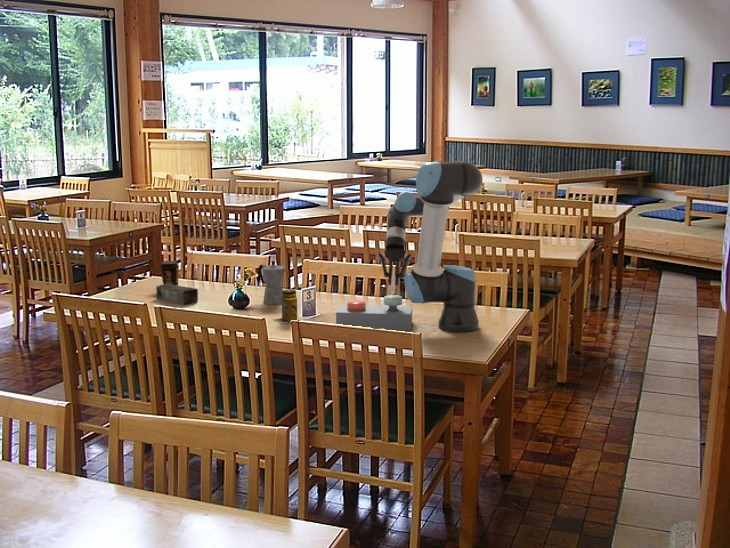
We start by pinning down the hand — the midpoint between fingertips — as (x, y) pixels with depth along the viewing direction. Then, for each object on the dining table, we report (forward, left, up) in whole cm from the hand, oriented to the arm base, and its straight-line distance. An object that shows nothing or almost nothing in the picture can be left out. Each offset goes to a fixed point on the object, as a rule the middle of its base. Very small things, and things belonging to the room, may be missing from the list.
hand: (392, 291), depth 310 cm
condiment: (+29, +30, -13) cm, 44 cm away
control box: (+4, +6, -13) cm, 15 cm away
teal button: (0, 0, -10) cm, 10 cm away
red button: (+9, +11, -13) cm, 19 cm away
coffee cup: (+107, +47, -13) cm, 117 cm away
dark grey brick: (+86, +52, -14) cm, 101 cm away
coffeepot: (+60, +20, -13) cm, 65 cm away
